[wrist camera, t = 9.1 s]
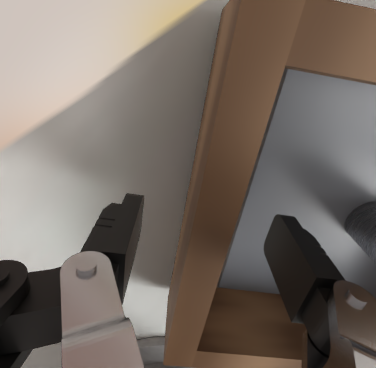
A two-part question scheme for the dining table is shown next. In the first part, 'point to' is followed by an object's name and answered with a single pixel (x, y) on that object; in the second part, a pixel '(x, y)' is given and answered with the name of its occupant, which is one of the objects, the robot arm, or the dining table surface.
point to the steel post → (363, 228)
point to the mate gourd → (153, 352)
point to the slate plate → (309, 178)
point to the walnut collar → (249, 173)
